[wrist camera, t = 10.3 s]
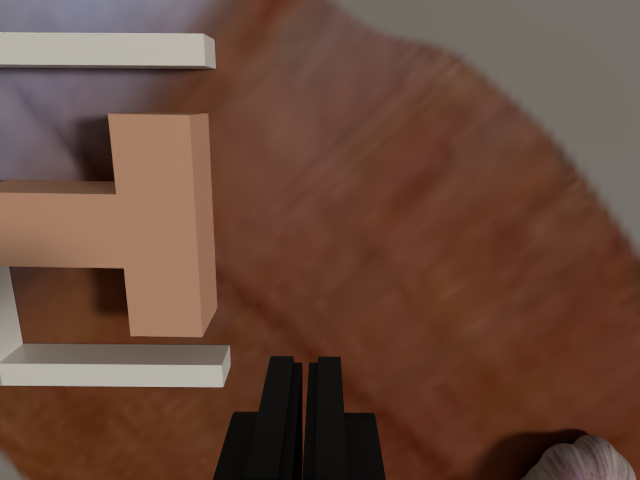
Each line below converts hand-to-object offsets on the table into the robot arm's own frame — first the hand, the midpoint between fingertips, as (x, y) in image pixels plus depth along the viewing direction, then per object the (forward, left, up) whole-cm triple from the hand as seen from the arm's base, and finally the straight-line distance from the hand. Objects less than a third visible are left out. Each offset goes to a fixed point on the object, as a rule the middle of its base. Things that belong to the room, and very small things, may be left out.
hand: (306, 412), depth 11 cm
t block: (0, +12, -18) cm, 22 cm away
